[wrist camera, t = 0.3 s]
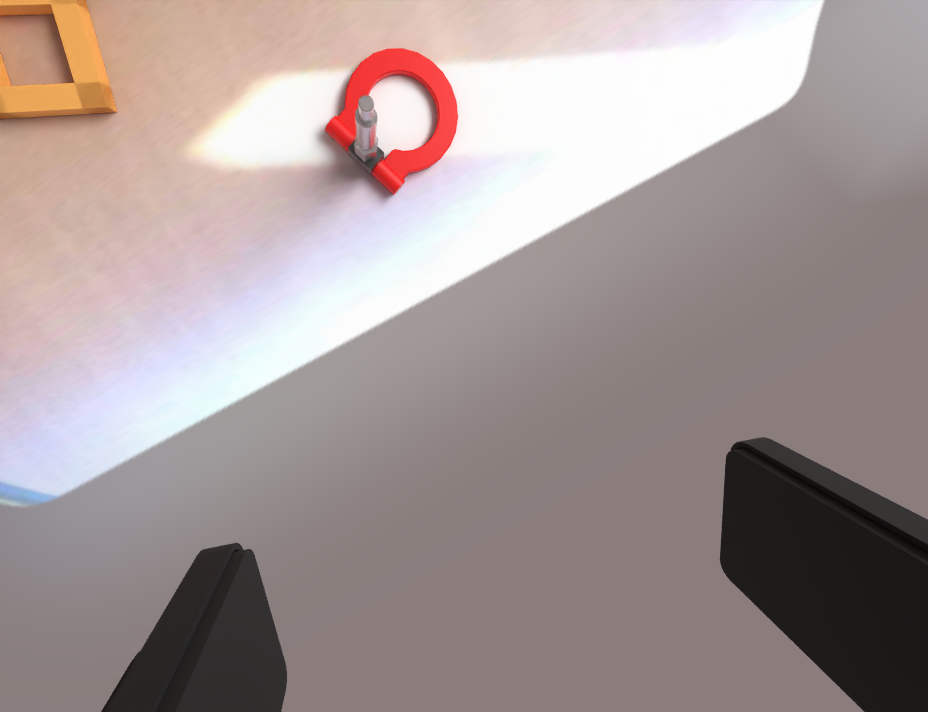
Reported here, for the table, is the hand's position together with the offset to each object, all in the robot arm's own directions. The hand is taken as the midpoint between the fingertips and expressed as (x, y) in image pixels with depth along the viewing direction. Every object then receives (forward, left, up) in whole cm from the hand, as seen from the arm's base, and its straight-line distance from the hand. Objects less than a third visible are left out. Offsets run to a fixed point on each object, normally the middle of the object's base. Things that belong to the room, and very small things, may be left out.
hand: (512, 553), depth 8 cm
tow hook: (-15, +1, -31) cm, 34 cm away
